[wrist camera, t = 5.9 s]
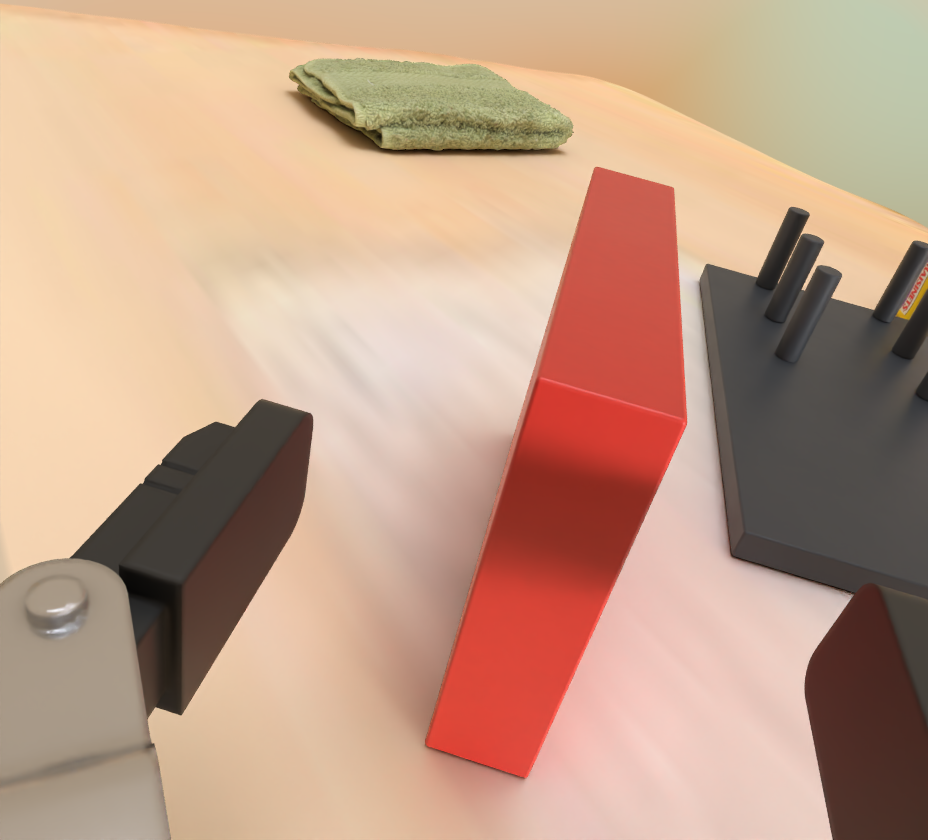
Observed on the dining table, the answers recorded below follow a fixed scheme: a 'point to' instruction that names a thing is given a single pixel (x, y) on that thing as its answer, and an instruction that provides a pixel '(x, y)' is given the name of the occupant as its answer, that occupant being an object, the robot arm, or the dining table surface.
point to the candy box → (914, 295)
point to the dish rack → (821, 418)
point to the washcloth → (431, 105)
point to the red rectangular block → (572, 477)
